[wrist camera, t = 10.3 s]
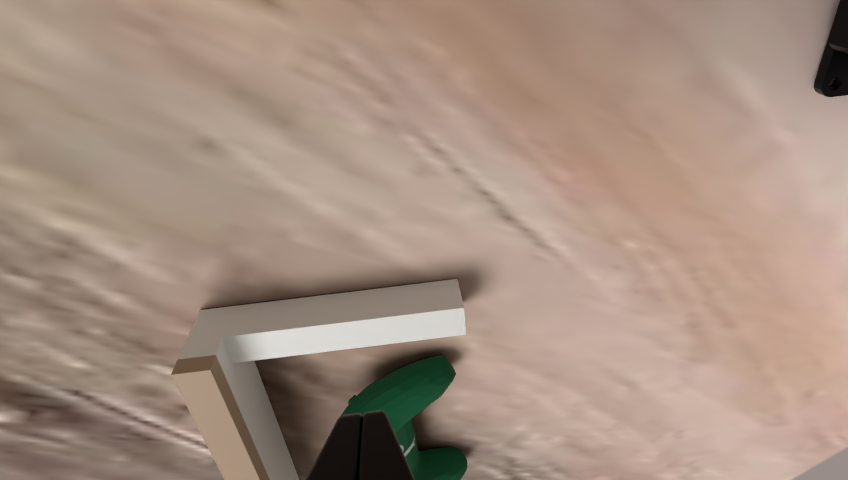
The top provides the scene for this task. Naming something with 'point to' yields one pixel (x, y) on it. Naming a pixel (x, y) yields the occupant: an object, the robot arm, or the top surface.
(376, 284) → the top surface
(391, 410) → the gaming controller
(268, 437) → the frame
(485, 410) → the top surface
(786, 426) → the top surface
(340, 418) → the robot arm
